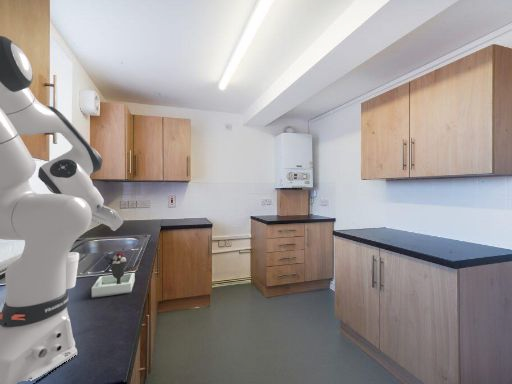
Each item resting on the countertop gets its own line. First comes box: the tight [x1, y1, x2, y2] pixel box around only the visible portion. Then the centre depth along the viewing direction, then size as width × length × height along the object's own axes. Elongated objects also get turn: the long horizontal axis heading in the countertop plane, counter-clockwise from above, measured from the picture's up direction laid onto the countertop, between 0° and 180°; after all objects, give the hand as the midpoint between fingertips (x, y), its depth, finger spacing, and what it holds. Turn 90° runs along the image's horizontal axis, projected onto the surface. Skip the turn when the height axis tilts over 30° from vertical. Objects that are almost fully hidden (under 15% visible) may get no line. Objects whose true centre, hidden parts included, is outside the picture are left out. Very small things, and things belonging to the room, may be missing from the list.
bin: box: [91, 272, 136, 299], centre depth 104 cm, size 13×13×4 cm
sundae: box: [107, 248, 128, 284], centre depth 104 cm, size 7×7×15 cm
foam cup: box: [66, 251, 80, 291], centre depth 106 cm, size 10×9×13 cm
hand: (104, 224), depth 99 cm, fingers open, 8 cm apart
